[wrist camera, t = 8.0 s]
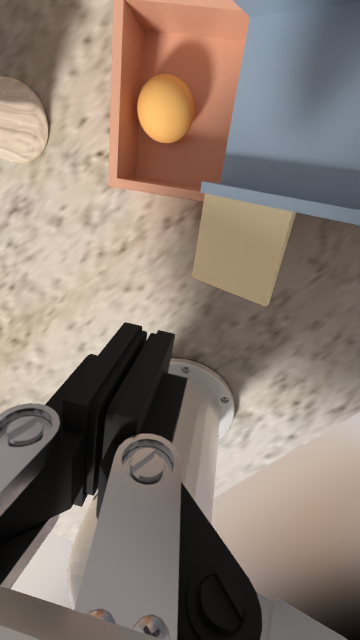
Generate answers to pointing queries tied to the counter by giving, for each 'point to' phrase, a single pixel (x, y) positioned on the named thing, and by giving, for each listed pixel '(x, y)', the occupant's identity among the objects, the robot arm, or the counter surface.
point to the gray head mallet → (284, 142)
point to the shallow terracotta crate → (194, 70)
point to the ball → (165, 108)
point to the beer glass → (21, 122)
